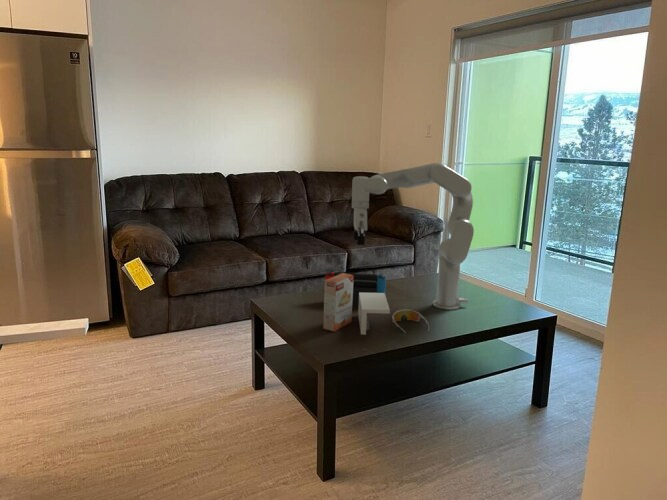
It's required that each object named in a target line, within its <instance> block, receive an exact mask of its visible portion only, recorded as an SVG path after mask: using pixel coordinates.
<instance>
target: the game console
mask: <svg viewBox="0 0 667 500" xmlns="http://www.w3.org/2000/svg"><path fill="white" fill-rule="evenodd" d="M342 273H343V272H333V271H329V272H327V273H326V274H325V276H324V277H325V280H327V279H329V278H332V277H334V276H337V275H339V274H342ZM344 273H345V274H350V275H354V280H353V301H352V307H359V293H385V294H386V287H387V286H386V283H387V282H386V281H387V277H386V276H385V275H384V274H382V273H380V274H379V273H378V274H377V273H375V274H374V273H357V272H355V273H354V272H344ZM325 280H324V281H325Z"/></svg>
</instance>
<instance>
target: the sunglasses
mask: <svg viewBox="0 0 667 500" xmlns="http://www.w3.org/2000/svg"><path fill="white" fill-rule="evenodd" d="M403 318H405V320H406V321H415V322H419V321H420V319H423V320H424V321H425V323H426V325H427V332H429V331H430V324H429V322H428V321H427V319H426V318H425V317H424V316H423V315H422V314H421V313H420V312H418V311H415V310H414V309H409V308H408V309H406V308H405V309H399V310H396V311H395V312H394V313H393V314H392V316H391V320H392V321H391V322H392V324H394V325H395V326H396V327H398V329H399V330H401V331H402V332H403V333H405V334H406V333H407V332H406V331H405V330H404V329H403V328H402V327H400V325H399V324H398V323H397V322H399V321H400V322H401V321H402V320H403Z"/></svg>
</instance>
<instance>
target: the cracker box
mask: <svg viewBox="0 0 667 500" xmlns="http://www.w3.org/2000/svg"><path fill="white" fill-rule="evenodd" d="M341 273H342V274H339V275H337V276H334V277H332V278H329V279H327V280H324V292H323V293H324V297H323V300H324V301H323V325H322V326H323V328H322V329H323V330H326V331H331V332H336V331H338V330H340V329H342V328H344V327H345V326H347V325H350V324H351V323H352V320H353V319H352V317H353V306H352V301H353V280H354V275H350V274H345V273H346V272H341Z"/></svg>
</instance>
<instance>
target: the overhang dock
mask: <svg viewBox="0 0 667 500" xmlns="http://www.w3.org/2000/svg"><path fill="white" fill-rule="evenodd" d="M390 311H391V309H390V306H389V303H388V299H387V297H386V292H385V293H359V306H358V314H357V315H358V316H357V317H358V321H359V322H358V323H359V330H360V335H363V336H364V335H367V331H370V320H369V318H368V317H369V316H368V315H369V314H391V312H390Z"/></svg>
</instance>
